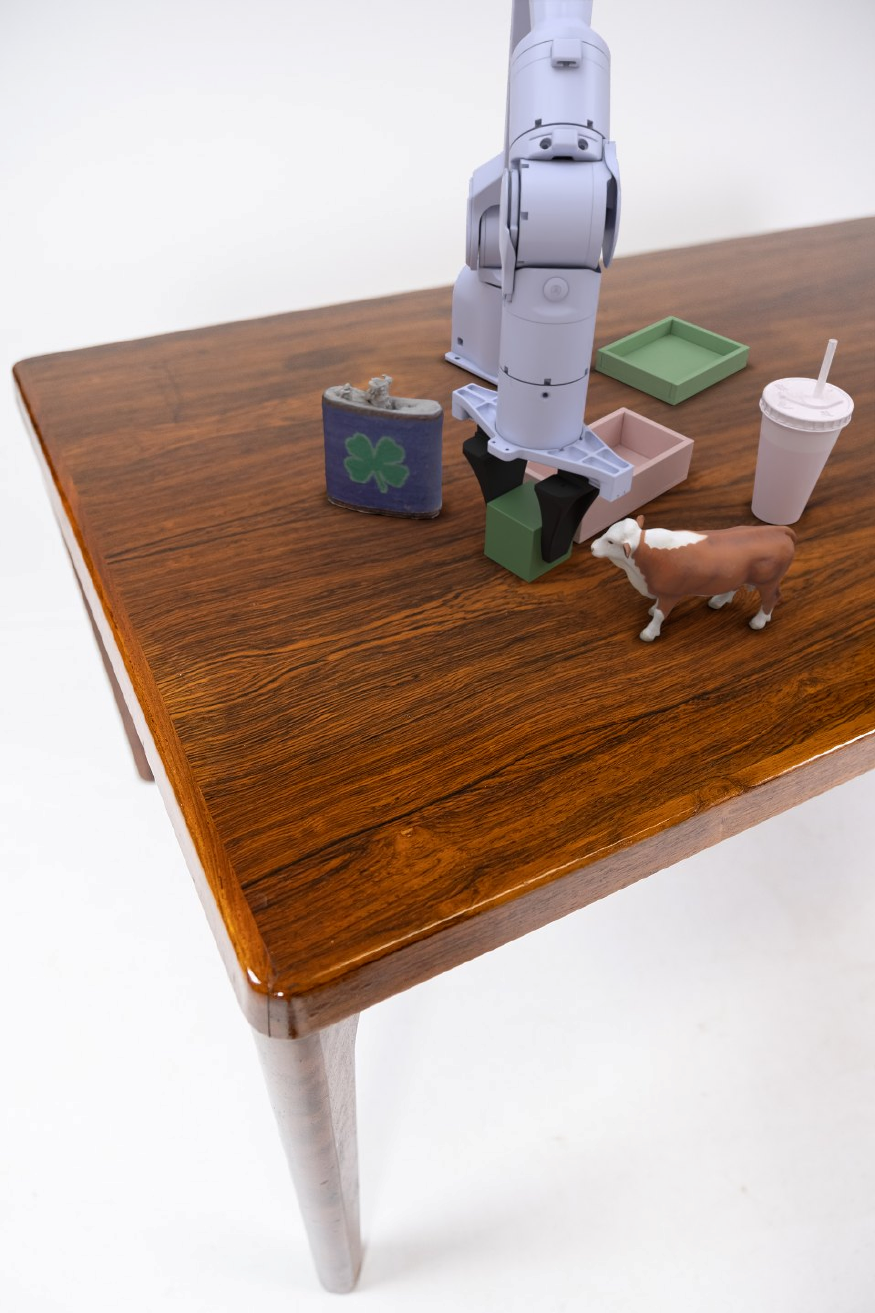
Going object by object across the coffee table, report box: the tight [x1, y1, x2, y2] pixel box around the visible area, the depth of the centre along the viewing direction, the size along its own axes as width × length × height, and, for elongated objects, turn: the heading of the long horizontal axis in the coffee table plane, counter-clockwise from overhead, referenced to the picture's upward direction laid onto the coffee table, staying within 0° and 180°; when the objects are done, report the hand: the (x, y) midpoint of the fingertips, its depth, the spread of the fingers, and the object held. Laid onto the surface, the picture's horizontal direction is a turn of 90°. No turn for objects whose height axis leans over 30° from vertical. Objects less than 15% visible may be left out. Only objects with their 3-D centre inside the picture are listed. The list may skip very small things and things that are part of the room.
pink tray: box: [523, 406, 695, 545], centre depth 79 cm, size 7×13×4 cm, turn 133°
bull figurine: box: [590, 514, 797, 642], centre depth 66 cm, size 4×13×8 cm, turn 95°
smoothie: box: [750, 338, 855, 526], centre depth 74 cm, size 6×6×14 cm
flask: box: [321, 373, 445, 520], centre depth 75 cm, size 9×3×11 cm, turn 74°
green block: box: [483, 480, 574, 583], centre depth 72 cm, size 4×4×4 cm
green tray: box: [594, 315, 751, 406], centre depth 95 cm, size 9×11×2 cm
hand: (528, 540), depth 73 cm, fingers closed on green block, 4 cm apart
